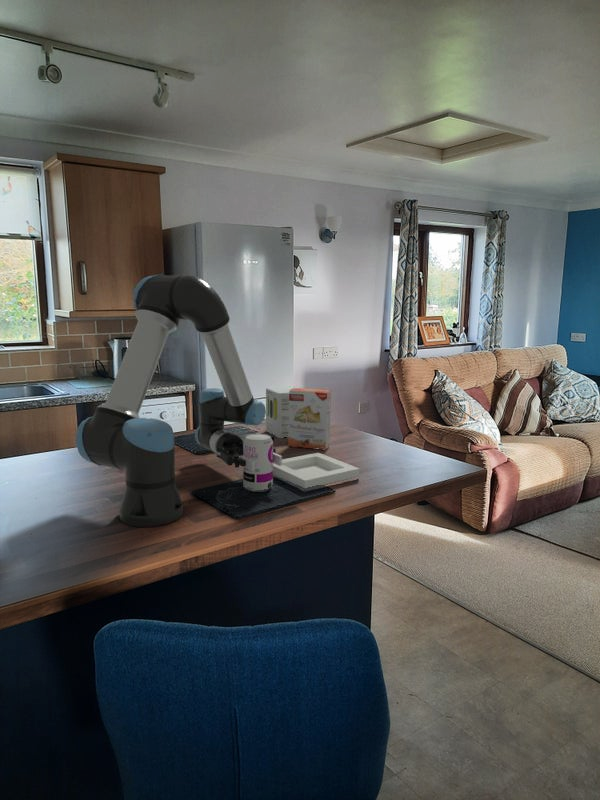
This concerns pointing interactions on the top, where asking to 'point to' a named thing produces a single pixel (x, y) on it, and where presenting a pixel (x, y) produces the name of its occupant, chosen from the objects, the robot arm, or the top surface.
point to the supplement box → (278, 411)
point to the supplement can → (258, 461)
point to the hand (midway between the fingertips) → (267, 463)
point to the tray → (314, 470)
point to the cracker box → (309, 418)
